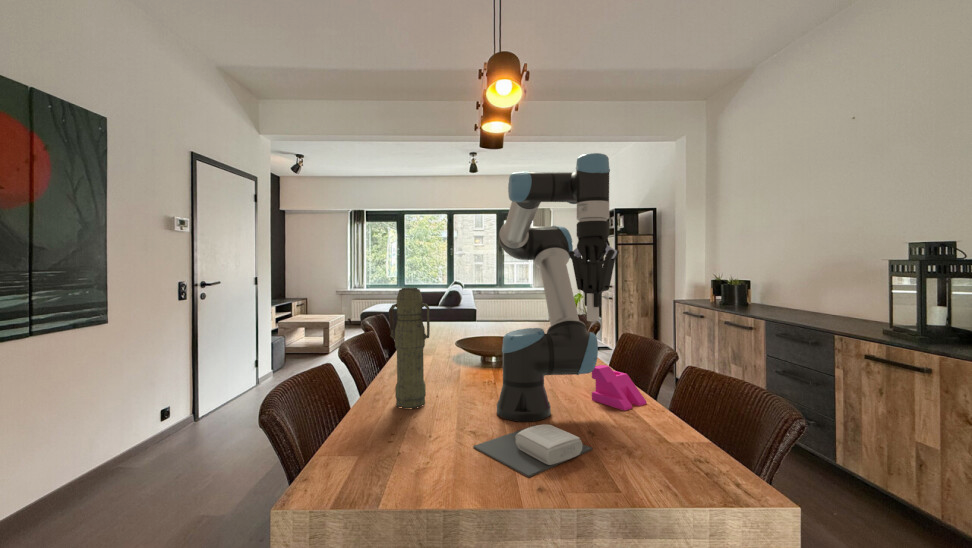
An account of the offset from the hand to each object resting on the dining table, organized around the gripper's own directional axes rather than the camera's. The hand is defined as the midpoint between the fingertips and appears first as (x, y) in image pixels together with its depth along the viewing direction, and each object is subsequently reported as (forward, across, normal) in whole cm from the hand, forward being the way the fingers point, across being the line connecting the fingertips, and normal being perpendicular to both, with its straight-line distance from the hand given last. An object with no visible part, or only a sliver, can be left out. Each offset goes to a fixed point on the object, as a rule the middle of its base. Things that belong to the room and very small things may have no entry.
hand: (592, 320), depth 103 cm
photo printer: (+26, +5, -15) cm, 30 cm away
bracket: (+29, -12, +29) cm, 43 cm away
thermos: (+29, -51, -21) cm, 62 cm away
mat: (+28, -6, -15) cm, 33 cm away
